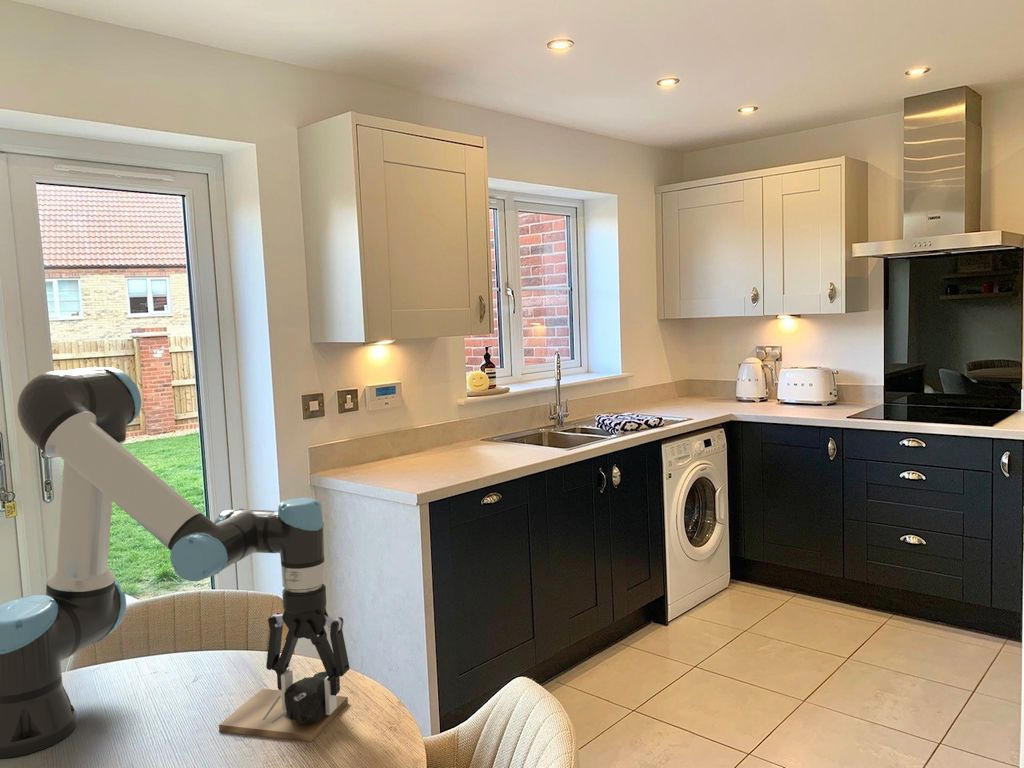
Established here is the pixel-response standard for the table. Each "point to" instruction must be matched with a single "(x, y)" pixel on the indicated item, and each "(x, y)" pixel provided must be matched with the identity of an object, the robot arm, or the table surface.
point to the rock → (306, 699)
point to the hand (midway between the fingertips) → (309, 708)
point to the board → (275, 718)
